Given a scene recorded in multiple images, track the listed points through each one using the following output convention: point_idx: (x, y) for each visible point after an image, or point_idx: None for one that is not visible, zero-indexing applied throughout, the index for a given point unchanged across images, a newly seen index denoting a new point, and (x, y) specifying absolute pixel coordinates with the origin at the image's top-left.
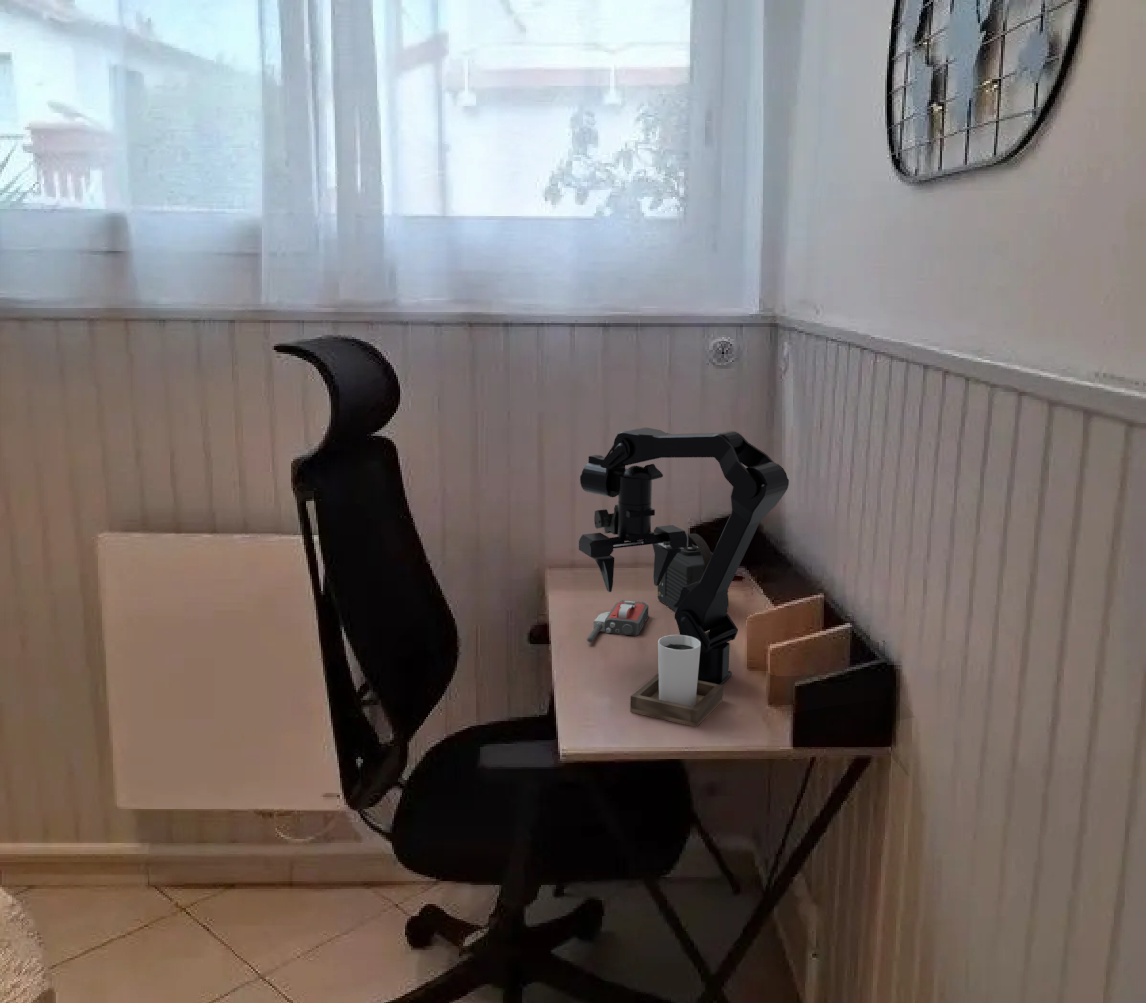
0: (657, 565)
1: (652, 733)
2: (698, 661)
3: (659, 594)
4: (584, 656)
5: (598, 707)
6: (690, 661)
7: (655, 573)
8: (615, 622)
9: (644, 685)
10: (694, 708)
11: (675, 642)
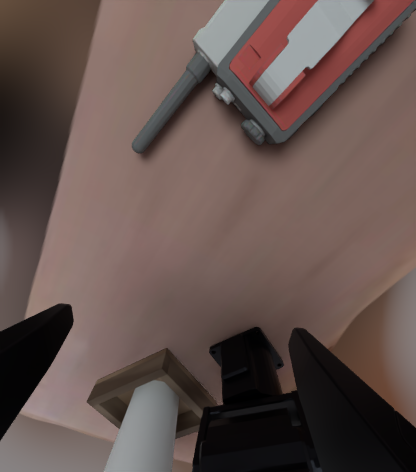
0: (346, 454)
1: (100, 418)
2: None
3: None
4: (107, 199)
5: (63, 357)
6: None
7: (317, 383)
8: (236, 97)
9: (118, 389)
10: None
11: None
